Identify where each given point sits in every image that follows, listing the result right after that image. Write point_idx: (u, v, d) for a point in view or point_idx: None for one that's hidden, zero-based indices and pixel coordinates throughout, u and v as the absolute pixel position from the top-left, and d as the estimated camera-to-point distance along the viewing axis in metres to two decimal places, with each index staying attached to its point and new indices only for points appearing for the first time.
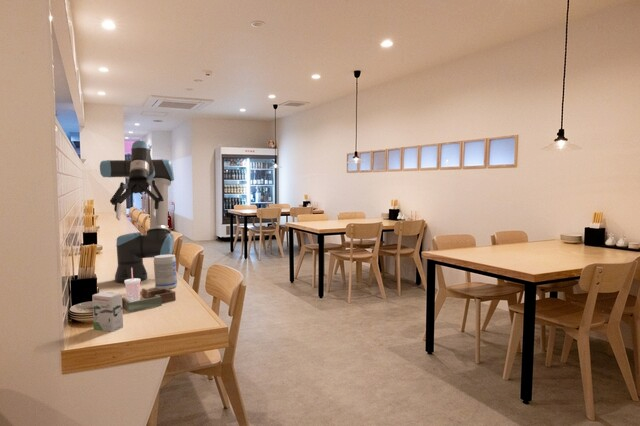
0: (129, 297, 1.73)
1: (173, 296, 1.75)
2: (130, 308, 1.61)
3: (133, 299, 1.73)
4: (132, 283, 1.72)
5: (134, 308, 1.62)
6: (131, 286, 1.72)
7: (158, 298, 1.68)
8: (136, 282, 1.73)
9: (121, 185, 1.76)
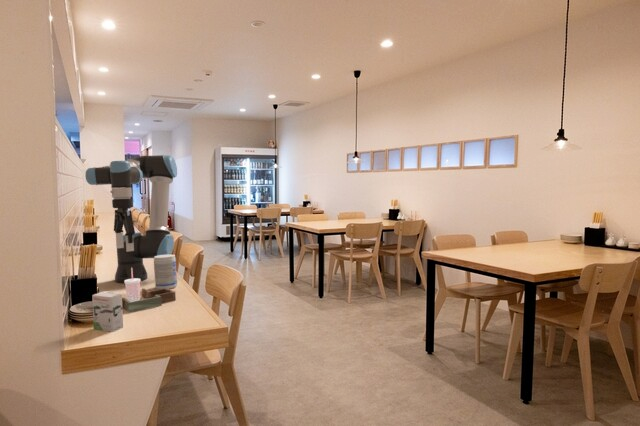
0: (129, 297, 1.73)
1: (173, 296, 1.75)
2: (130, 308, 1.61)
3: (133, 299, 1.73)
4: (132, 283, 1.72)
5: (134, 308, 1.62)
6: (131, 286, 1.72)
7: (158, 298, 1.68)
8: (136, 282, 1.73)
9: (115, 213, 1.83)
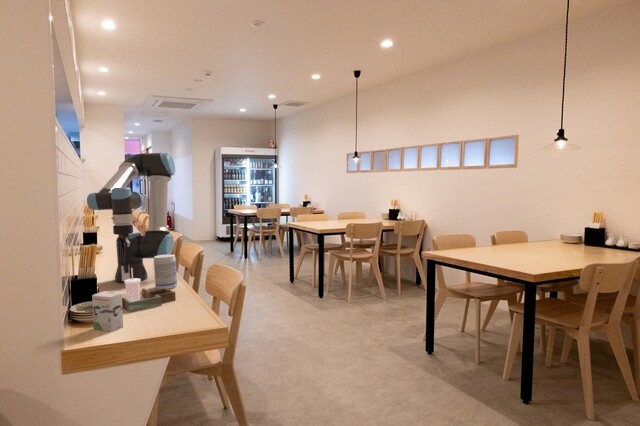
0: (129, 297, 1.73)
1: (173, 296, 1.75)
2: (130, 308, 1.61)
3: (133, 299, 1.73)
4: (132, 283, 1.72)
5: (134, 308, 1.62)
6: (131, 286, 1.72)
7: (158, 298, 1.68)
8: (136, 282, 1.73)
9: (117, 243, 1.83)
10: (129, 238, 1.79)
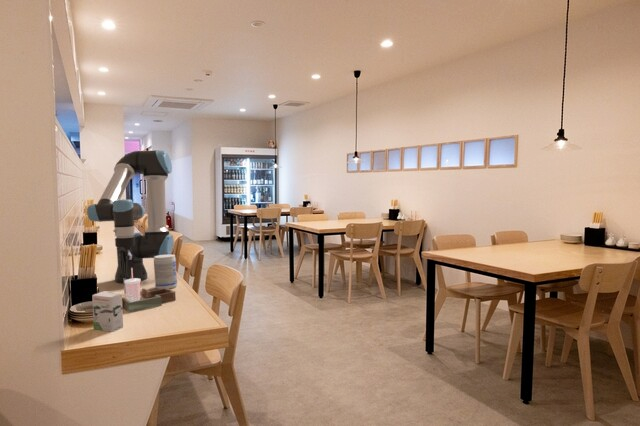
0: (129, 297, 1.73)
1: (173, 296, 1.75)
2: (130, 308, 1.61)
3: (133, 299, 1.73)
4: (132, 283, 1.72)
5: (134, 308, 1.62)
6: (131, 287, 1.72)
7: (158, 298, 1.68)
8: (136, 282, 1.73)
9: (119, 255, 1.82)
10: (131, 250, 1.78)
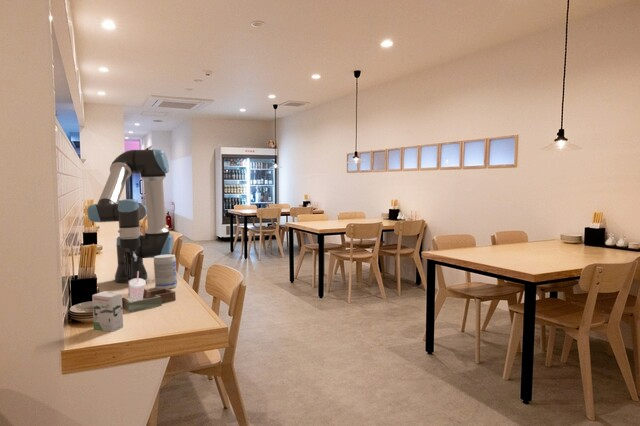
0: (133, 299, 1.70)
1: (173, 296, 1.75)
2: (130, 308, 1.61)
3: None
4: (137, 287, 1.68)
5: (134, 308, 1.62)
6: (136, 290, 1.68)
7: (158, 298, 1.68)
8: (141, 286, 1.69)
9: (123, 257, 1.77)
10: (136, 252, 1.73)
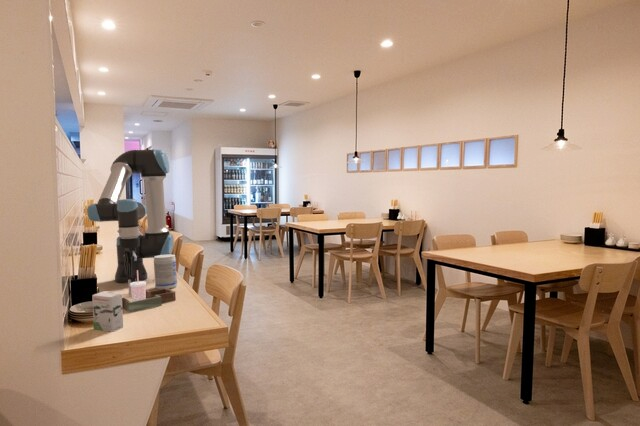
0: None
1: (173, 296, 1.75)
2: (130, 308, 1.61)
3: None
4: (139, 286, 1.67)
5: (134, 308, 1.62)
6: (137, 290, 1.67)
7: (158, 298, 1.68)
8: (143, 285, 1.68)
9: (123, 256, 1.78)
10: (136, 251, 1.75)
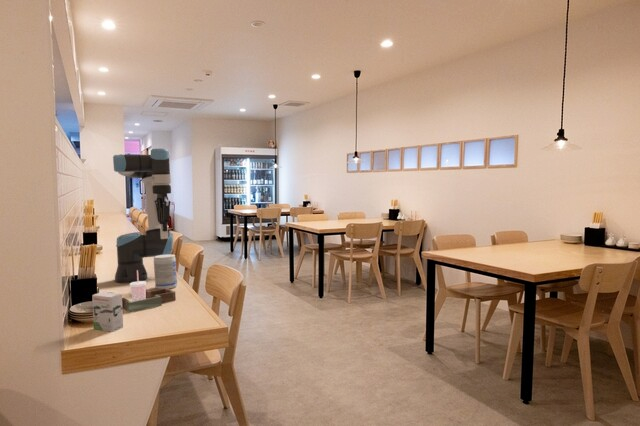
0: None
1: (173, 296, 1.75)
2: (130, 308, 1.61)
3: None
4: (139, 286, 1.67)
5: (134, 308, 1.62)
6: (137, 290, 1.67)
7: (158, 298, 1.68)
8: (143, 285, 1.68)
9: (155, 203, 1.90)
10: None
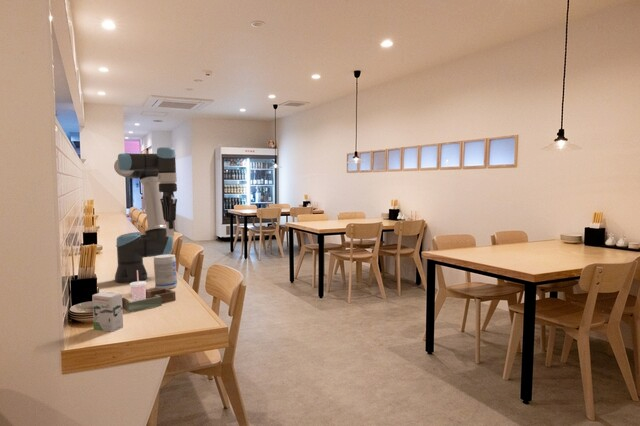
0: None
1: (173, 296, 1.75)
2: (130, 308, 1.61)
3: None
4: (139, 286, 1.67)
5: (134, 308, 1.62)
6: (137, 290, 1.67)
7: (158, 298, 1.68)
8: (142, 285, 1.68)
9: (161, 201, 1.92)
10: None
